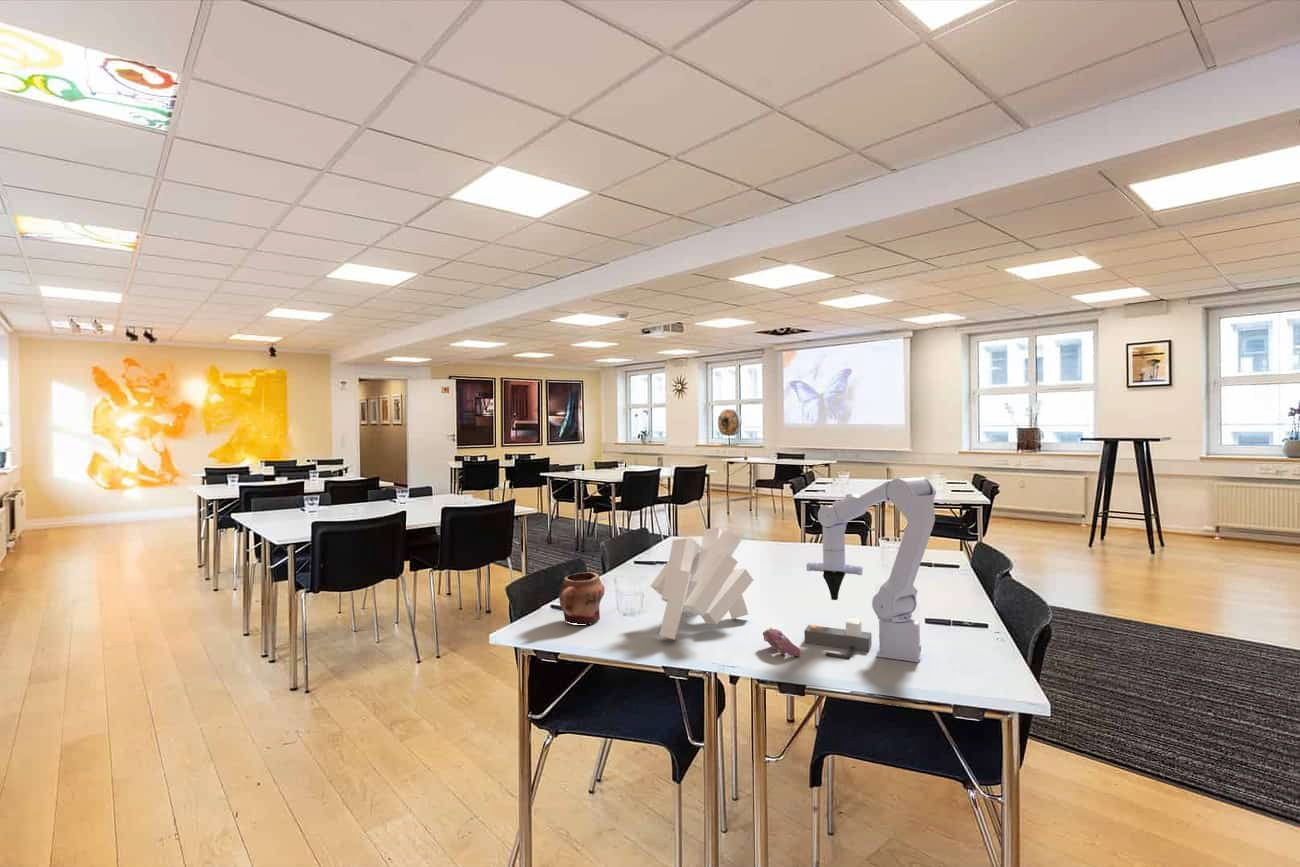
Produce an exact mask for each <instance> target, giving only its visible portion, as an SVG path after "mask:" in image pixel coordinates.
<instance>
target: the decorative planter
mask: <svg viewBox="0 0 1300 867" xmlns="http://www.w3.org/2000/svg"><path fill="white" fill-rule="evenodd" d="M604 595H605V585H604V583H603V582H602V581H601V578H600V575H599V574H598V573H596V572H591V571H589V572H577V573H574V574H569V575H566V576H565V577H564V579H563V582H562V585H561V587H560V590H559V595H558V598H559V606H560V608H561V610H562V612H563V617H564V621H565V622H566V621H567V622H570V623H577V624H590V623H593V622H595V623H597V622H598V621H599V620H601V616H600V615H601V613H600V604H601V601H602V599H603V598H604ZM596 621H597V622H596ZM593 624H594V623H593ZM590 625H591V624H590Z"/></svg>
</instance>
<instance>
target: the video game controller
mask: <svg viewBox="0 0 1300 867" xmlns="http://www.w3.org/2000/svg"><path fill="white" fill-rule="evenodd" d="M762 636H763V641H764V642H767V643H768V644H769V645H770V646H771V648H772V649H773V648H774V649H775V650H777V652H778V653H779V654H780V653H781V654H783V655H782V656H784V655H785V654H787V655H789V656H791V657H793V656H794V658H796V657H795V656H799V657H800V656H801V649H800V648H799V647H798V645H797V646H796V645H795V644H794V643H793V642H792V641H791V640H790V639H789V638H788V636H786V635H784V634H783V632H782V631H781V630H779V629H775V628H772V627H769V629H768V628H767V629H766V630H765V631H763V632H762ZM774 649H773V650H774ZM775 650H774V651H775ZM781 654H780V655H781Z"/></svg>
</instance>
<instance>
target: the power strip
mask: <svg viewBox="0 0 1300 867" xmlns="http://www.w3.org/2000/svg"><path fill="white" fill-rule="evenodd" d="M803 633H804V643H805V642H808V643H807V644H810V643H815V644H814V645H817V644H821V645H820V646H825V645H828V647H832V646H835V648H840V647H842V649H847V648H849V650H848V652H847V654H842V653H834V652H825V655H826V656H827V657H833V656H834V658H841V659H846V660H847V659H848V658H849V659H850V658H851V656H852V653H853V651H854V649H856V651H862V650H863V652H870V650H871V648H872V641H873V640H872V632H870V631H868V632H867V631H862V619H859V618H852V617H848V618H847V620H846V621H845V629H844V628H835V627H827V626H820V625H815V624H808V625H807V626H806V628H805V629H804V632H803Z"/></svg>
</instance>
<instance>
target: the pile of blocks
mask: <svg viewBox="0 0 1300 867" xmlns="http://www.w3.org/2000/svg"><path fill="white" fill-rule="evenodd" d="M741 542H742V539H740V538H739V537H738V536H737V535H736V534H735V533H733V532H732V531H724V532H723V531H722V529H721V527H713V528H706V529H703V534H702V540H701V545H699V543H698V542H697V541H695V539H693V538H690V537H689V538H679V539H673V540H672V543H671V549H670V554H669V558H668V560H667V562H666V564H665V565H664V566H663V567H662V569H661V570H660V572H659V573H658V575H657V576H656V578H655V579H654V580H653V581H652V583H651V585H650V587H651V588H652V589H653V590H654V591H656V593H658V595H660V596H661V598H660V599H661V600H662V601H663V602H666V604H665V605H666V606H665V609H664V613H663V614H664V615H663V617H662V618H663V619H662V623H661V625H660V630H659V633H658V634H659V636H661V637H664V638H667V639H672V640H676V639H675V638H677V635H678V630H679V627H680V626H679V625H680V621H681V617H682V614H685V615H686V616H688V617H689V616H690V617H691V616H692V617H693V616H701V618H702V619H703V621H704V622H705V623H706V624H709V625H718V624H719V622H721V620H722V619H723V618H724V617H725V615H727V613H728V612H729V614H730V618H731V620H734V619H738V618H740V617H744V616H747V615H750V614H751V611H750V608H749V604H748V602H747V598H746V595H745V593H744V592H745V591H746V590H747V589H748V587H749V586H750V585H751V584H752V583H753V581H754V579H753V577H752V576H751V575H750V573H749V572H748V570H747V569H746V568H743V569H742V568H736V566H737V564H738V563H739V562H738V560H736V559H735V558H734V557H733V554H734V553H735V551H736V549H737V548H738V547H739V545H740V543H741Z"/></svg>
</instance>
